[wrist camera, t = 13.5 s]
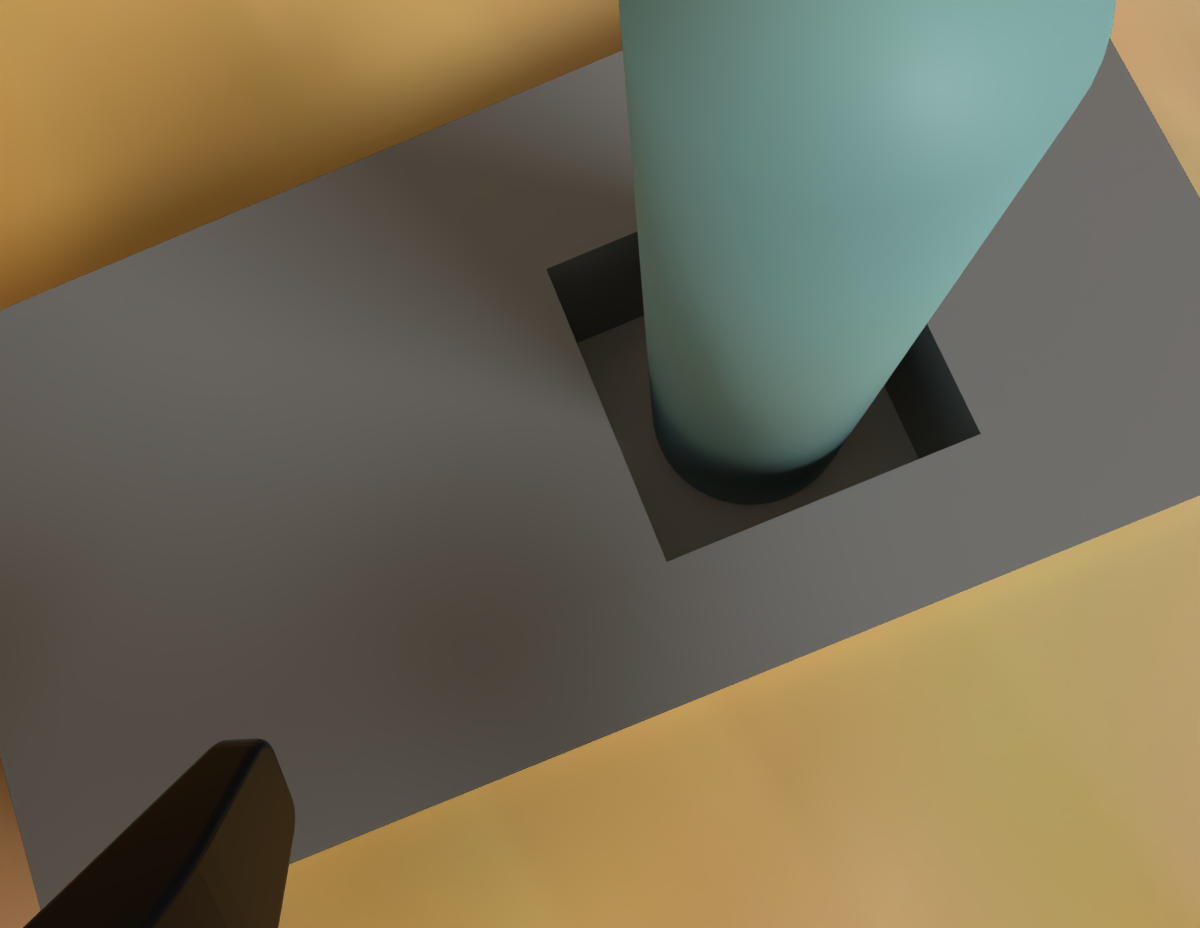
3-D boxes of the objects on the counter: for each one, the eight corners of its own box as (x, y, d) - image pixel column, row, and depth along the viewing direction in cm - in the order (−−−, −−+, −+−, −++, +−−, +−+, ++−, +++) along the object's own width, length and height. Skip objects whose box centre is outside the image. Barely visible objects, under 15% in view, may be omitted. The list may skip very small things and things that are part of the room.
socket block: (1201, 492, 20) (1335, 440, 16) (193, 900, 21) (53, 959, 16) (961, 38, 23) (1022, -118, 18) (50, 417, 23) (-107, 354, 18)
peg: (804, 534, 20) (1021, 281, 8) (623, 461, 21) (541, 110, 8) (874, 357, 21) (1180, -150, 8) (694, 290, 21) (724, -288, 9)
